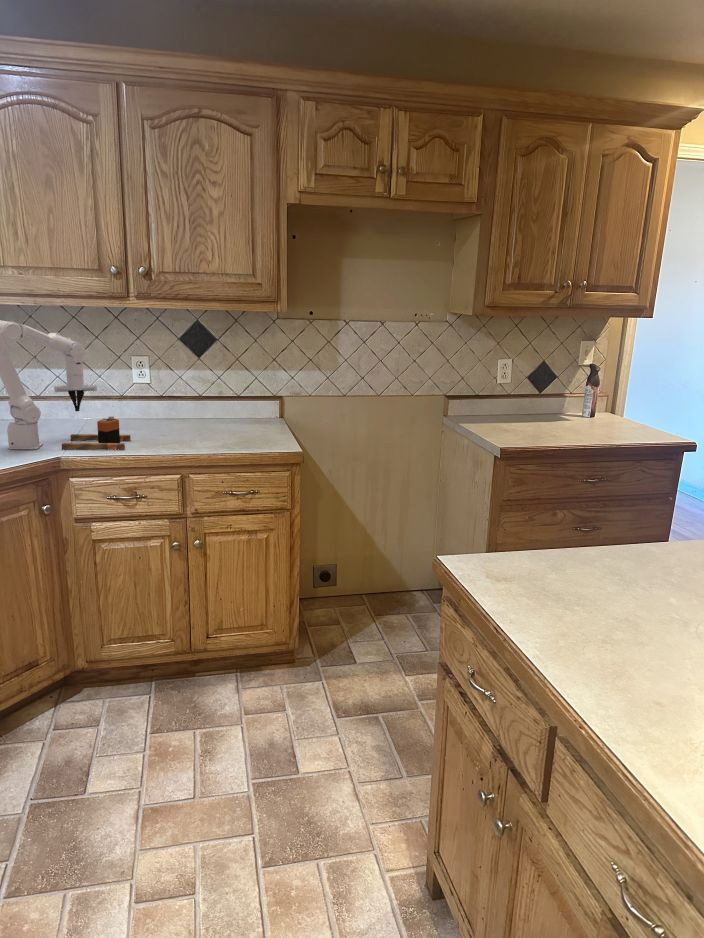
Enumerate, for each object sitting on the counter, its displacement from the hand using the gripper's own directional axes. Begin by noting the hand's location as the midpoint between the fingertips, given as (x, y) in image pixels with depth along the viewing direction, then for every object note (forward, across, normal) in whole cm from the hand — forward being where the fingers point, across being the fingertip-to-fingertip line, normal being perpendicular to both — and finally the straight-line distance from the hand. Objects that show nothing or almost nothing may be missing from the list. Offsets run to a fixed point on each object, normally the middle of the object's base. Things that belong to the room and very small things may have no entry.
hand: (77, 410), depth 252 cm
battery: (+11, +10, -12) cm, 19 cm away
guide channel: (+10, +6, -12) cm, 17 cm away
